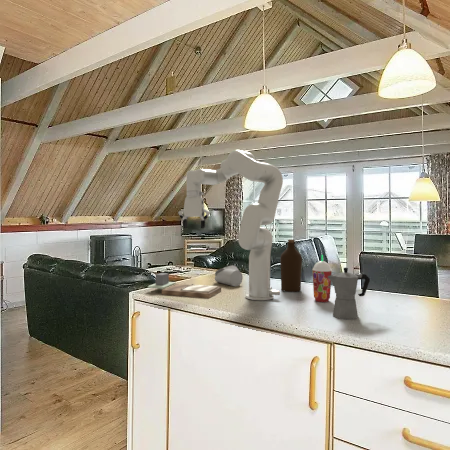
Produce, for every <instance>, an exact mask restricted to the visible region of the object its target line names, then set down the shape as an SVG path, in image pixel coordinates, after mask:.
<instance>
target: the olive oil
mask: <svg viewBox="0 0 450 450" xmlns="http://www.w3.org/2000/svg"><path fill="white" fill-rule="evenodd" d="M295 241H296V240H295V239H287V248H286V249H284V251H283V252H282V253H281V254H280V259H279V261H280V262H279V263H280V281H281V282H280V283H281V284H280V285H281V287H280V288H281V289H280V290H281V291H282V292H286V293H299V292H301V289H302V286H301V285H302V271H303V270H302V268H303V258H302V257H303V256H302V254H301V253H300V252H299V251H298V250H297V248H296V245H295Z"/></svg>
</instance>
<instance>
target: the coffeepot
mask: <svg viewBox="0 0 450 450" xmlns="http://www.w3.org/2000/svg"><path fill="white" fill-rule="evenodd" d="M348 270H349V268H348V267H343V272H338V273H334V274H332V275H330V276H328V278H329V279H330V280H331V285H333V288H334V293H335V301H334V305H333V310H332V316H333V318H337V319H340V320H356V319H358V318H359V317H358V316H359V314H358V309H357V301H356V293H357V287H358V281H359V280H364V282H363V287H362V288H361V293H358V297H364V296H365V295H366V292H367V289H368V286H369V284H370V281H371V280H370V277H369V276H368V275H367V274H366V273H351V272H348Z"/></svg>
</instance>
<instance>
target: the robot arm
mask: <svg viewBox="0 0 450 450" xmlns="http://www.w3.org/2000/svg"><path fill="white" fill-rule="evenodd" d="M256 160H257V159H256V158H255V155H254V154H253V153H251V152H249V151H244V150H240V149H235V150H234V149H233V150H232V151H231V152H230V153H229V154H228V156H227V158H226V159H223V160H222V161H221V163H220V168H217V169H207V168H205V169H204V168H198V169H195V170H188V171H186V197H185V198H184V202H183V203H184V205H183V209H181V210H179V211H178V212H177V213H178V215H179V218H180V219H181V220H182V227H183V228H184V229H187V228H188V220H187V219H188V218H191V217H192V218H196V217H197V218H198V217H199V218H200V228H201V229H205V227H206V220H207V219H208V218H209V216H210V214H211V211H209V210H207V209H205V202H204V197H202V196H204V195H205V193H204V192H202V185H211V186H217V185H219V184H222V183H225V182H227V181H228V180H230V178H231V177H234V176H237V175H240V176H242V177H243V178H245V179H246V180H248V181H251V182H256V183H263V184H264V185H263V186H262V188H261V189H260V193H259V196H258V201H257V203H251V204H248V205H247V206H246V207H245V209H244V211H243V213H242V217H241V221H240V225H239V231H238V236H237V238H238V239H237V240H238V241H237V242H238V244H239V246H240V247H241V248H242V249H244V250H247V251H249V257H248V293H245V298H246V299H248V300H252V301H270V300H272V299H274V296H281V295H280V294H281V293H280V292H281V291H280V290H276V289H273V288H272V286H271V252H272V247H273V235H272V234H273V233H272V232H271V231H270V230H269V229H268V228H266V227H263V226H267V225H271V224H272V223H273V222H274V221H275V216H276V212H277V208H278V204H279V198H280V195H281V191H282V189H283V182H284V179H283V177H284V176H283V174H282V172H281V170H279V168H278V167H277V166H275V165H274V164H272V163H271V164H270V163H267V162H261V161H256ZM261 226H262V227H261Z"/></svg>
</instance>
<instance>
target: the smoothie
mask: <svg viewBox="0 0 450 450" xmlns="http://www.w3.org/2000/svg"><path fill="white" fill-rule="evenodd" d="M320 256H321V257H320V258H321V260H320V261H317V262H316V263H315V264H314V265H313V267H312V269H311V270H312V286H313V289H312V290H313V298H314V300H315V301H316V302H318V303H328V302H329V300H330V298H331V288H332V282H331V280H330V279H329V278H328V276H330V275H333V273H332V272H333V269H332V267H331V265H330V264H329V263H328V262H327V261H325V260H324V255H323V254H321V255H320Z"/></svg>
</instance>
